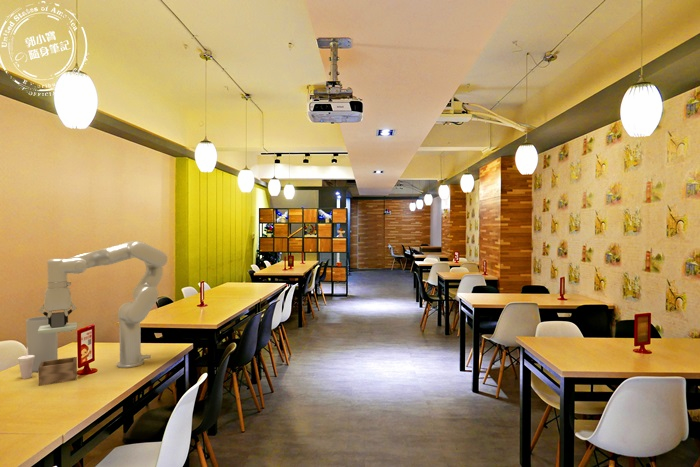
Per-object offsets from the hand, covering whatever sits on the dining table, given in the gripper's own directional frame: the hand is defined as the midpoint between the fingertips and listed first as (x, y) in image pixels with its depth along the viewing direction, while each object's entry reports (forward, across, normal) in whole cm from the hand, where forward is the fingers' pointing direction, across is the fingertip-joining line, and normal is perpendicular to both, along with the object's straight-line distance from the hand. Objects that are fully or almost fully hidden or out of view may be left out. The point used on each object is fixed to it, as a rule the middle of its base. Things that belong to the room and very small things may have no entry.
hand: (58, 324), depth 198 cm
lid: (+2, 0, 0) cm, 2 cm away
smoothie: (+25, +13, -11) cm, 31 cm away
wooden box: (+25, 0, 0) cm, 25 cm away
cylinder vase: (+25, +8, -24) cm, 36 cm away
